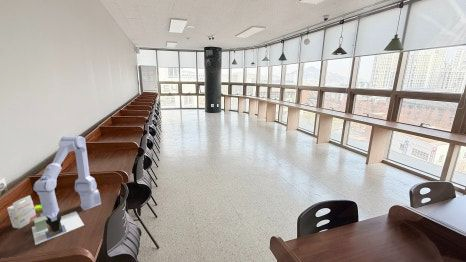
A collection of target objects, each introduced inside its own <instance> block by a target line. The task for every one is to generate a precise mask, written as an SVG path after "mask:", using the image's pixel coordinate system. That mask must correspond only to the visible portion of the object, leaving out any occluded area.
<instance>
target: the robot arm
mask: <svg viewBox="0 0 466 262" xmlns="http://www.w3.org/2000/svg"><path fill="white" fill-rule="evenodd" d="M86 143H87V142H86V138H85V137H83V136H82V135H81V136H79V135H78V136H76V135H75V136H74V135H73V136H70V135H68V136H67V135H63V136H62V137H61V138H60V140H59V142H58V146H59V147H58V150H57V152H56V154H55V156H54V158H53V161H52V162H51V163H50V164H48V165H47V166H46V167H45V170H44V171H43V173H42V175H41V177H40V178H39V179H38V180H37V181H35V183H34V184H33V191H35V192H36V193H37V195H38V197H39V201H40V202H39V203H41V206H42V210H41V211H42V212H41V213H40V214H39V215H40V216H39V217H41V216H46V217H47V219H48V220H46V223H47V224H48V225H49V226H50V227H51V229H52V231H53V232H56V231H59V224H60V220H61V215H59V216H58V214H59V212H60V208H59V206H58V201H57V197H56V193H55V188H57V182H58V179H57V178H58V176H59V174H60V173H61V172H62V169H63V168H62V166H61V165H62V163H64V160H65V159H66V157H67V156H68V154H69V153H70V152H74V154H75V161H76V169H77V175H78V178H77V179H75V181H74V190H75V192H76V193H78V195H79V198H80V203H81V204H80V205H79V206H80V208H81V209H82V211H86V210H89V209H92V208H94V207H96V206H100V205H101V204H102V200H101V195H100V192H99V189H98V188H97V186H98V185H97V182H96V179H95V177H93V176H91V175H90V174H91V173H90V168H89V160H88V151H87V144H86Z"/></svg>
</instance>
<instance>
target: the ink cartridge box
mask: <svg viewBox="0 0 466 262" xmlns="http://www.w3.org/2000/svg"><path fill="white" fill-rule="evenodd" d="M6 210H7V213H8V215H9V219H10V223H11V225H12V228H14V229H21V228H23V227H25V226H26V225H28V224H30V223H32V222H34V219H35V218H38V216H37V214H36V211H35V209H34V201H33V200H32V197H31V195H27V196H25V197H22V198H20V199H18V200H16V201H14V202H13V203H12V205H10V206H9V207H7V208H6Z"/></svg>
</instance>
